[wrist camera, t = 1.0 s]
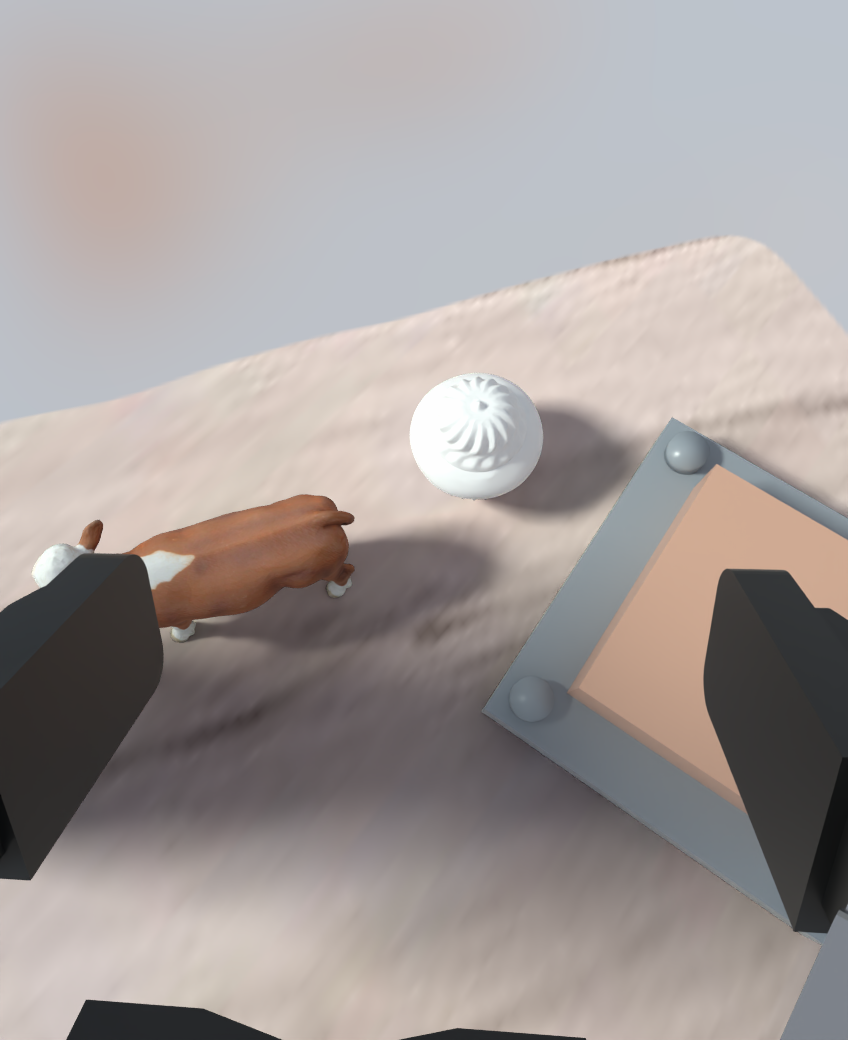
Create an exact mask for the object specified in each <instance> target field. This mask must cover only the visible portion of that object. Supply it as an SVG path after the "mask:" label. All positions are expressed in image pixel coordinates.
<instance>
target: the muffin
mask: <svg viewBox="0 0 848 1040" xmlns="http://www.w3.org/2000/svg"><path fill="white" fill-rule="evenodd" d="M410 443H411V449H412V452H413V455H414V458H415V460H416V462H417V464H418V466H419V468H420V470H421V471H422V473H423V474H424V475H425V477H426V478H427V479H428V480H429V481H430V482H431V483H432V484H433V485H434V486H435V487H437V488H438V489H440V490H441V491H443V492H445V493H447V494H449V495H451V496H456V497H460V498H462V499H464V498H466V499H472V500H476V499H485V500H486V499H487V498H493V497H497V496H500V495H503V494H505V493H508V492H510V491H511V490H513V489H515V488H516V487H518V486H519V485H520V484H522V483H523V482H524V481H525V480H526V479H527V477H528V476H529V475H530V474H531V472H532V471H533V470H534V468H535V466H536V464H537V462H538V460H539V458H540V455H541V451H542V446H543V429H542V424H541V420H540V417H539V414H538V411H537V409H536V407H535V405H534V404H533V402H532V401H531V399H530V398H529V397H528V395H527V394H526V393H525V392H524V391H523V390H522V389H521V388H520V387H518V386H517V385H516V384H514V383H512V382H511V381H509V380H507V379H505V378H502V377H500V376H496V375H492V374H487V373H469V374H463V375H459V376H456V377H453V378H450V379H448V380H446V381H444V382H442V383H440V384H439V385H437V386H436V387H434V388H433V389H432V390H430V391H429V392H428V393H427V394H426V395H425V396H424V398H423V399H422V400H421V402H420V403H419V405H418V407H417V409H416V411H415V413H414V416H413V418H412V422H411V427H410Z"/></svg>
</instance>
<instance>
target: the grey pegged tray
mask: <svg viewBox="0 0 848 1040" xmlns="http://www.w3.org/2000/svg"><path fill="white" fill-rule="evenodd" d="M725 569H771V570H786V571H788V572H789V573H790V574H791V576H792V577H793V578H794V580H795V581H796V583H797V584H798V585H799V587H800V588H801V589H802V591H803V592H804V593H805V595H806V596H807V598H808V599H809V600H810V602H811V603H812V604H813V606H814V607H815V608H830V609H832V610H834V611H835V612H837V613H838V614H840V615H841V616H843V617H844V618H846V619H847V620H848V518H846V517H844V516H843V515H841V514H839V513H838V512H836V511H834V510H832V509H831V508H829V507H827V506H825V505H824V504H822V503H820V502H818V501H817V500H815V499H813V498H811V497H810V496H808V495H806V494H804V493H803V492H801V491H799V490H798V489H796V488H794V487H792V486H791V485H789V484H787V483H785V482H784V481H782V480H780V479H778V478H777V477H775V476H773V475H771V474H770V473H768V472H766V471H765V470H763V469H761V468H759V467H758V466H756V465H754V464H752V463H751V462H749V461H747V460H745V459H744V458H742V457H740V456H738V455H737V454H735V453H733V452H731V451H730V450H728V449H726V448H725V447H723V446H721V445H719V444H718V443H716V442H714V441H712V440H711V439H709V438H707V437H705V436H704V435H702V434H700V433H698V432H697V431H695V430H693V429H692V428H690V427H688V426H686V425H685V424H683V423H681V422H679V421H678V420H676V419H674V418H671V420H670V421H669V423H668V424H667V425H666V427H665V428H664V430H663V431H662V433H661V434H660V436H659V437H658V439H657V440H656V441H655V443H654V444H653V446H652V448H651V449H650V451H649V452H648V454H647V455H646V457H645V458H644V460H643V462H642V463H641V465H640V466H639V468H638V469H637V471H636V472H635V474H634V475H633V477H632V479H631V480H630V482H629V483H628V485H627V486H626V488H625V489H624V491H623V492H622V494H621V496H620V497H619V499H618V500H617V502H616V503H615V505H614V506H613V508H612V510H611V511H610V513H609V514H608V516H607V517H606V519H605V520H604V522H603V523H602V525H601V527H600V528H599V530H598V531H597V533H596V534H595V536H594V537H593V539H592V541H591V542H590V544H589V545H588V547H587V548H586V550H585V551H584V553H583V554H582V556H581V558H580V559H579V561H578V562H577V564H576V565H575V567H574V568H573V570H572V572H571V573H570V575H569V576H568V578H567V579H566V581H565V582H564V584H563V585H562V587H561V589H560V590H559V592H558V593H557V595H556V596H555V598H554V599H553V601H552V603H551V604H550V606H549V607H548V609H547V610H546V612H545V613H544V615H543V616H542V618H541V620H540V621H539V623H538V624H537V626H536V627H535V629H534V630H533V632H532V633H531V635H530V637H529V638H528V640H527V641H526V643H525V644H524V646H523V647H522V649H521V651H520V652H519V654H518V655H517V657H516V658H515V660H514V661H513V663H512V664H511V666H510V668H509V669H508V671H507V672H506V674H505V675H504V677H503V678H502V680H501V682H500V683H499V685H498V686H497V688H496V689H495V691H494V692H493V694H492V695H491V697H490V699H489V700H488V702H487V703H486V705H485V706H484V708H483V709H482V711H481V712H483V713H484V714H485V715H487V716H488V717H490V718H491V719H493V720H494V721H496V722H497V723H498V724H500V725H501V726H503V727H504V728H506V729H507V730H508V731H510V732H511V733H513V734H514V735H516V736H517V737H518V738H520V739H521V740H523V741H524V742H526V743H527V744H529V745H530V746H531V747H533V748H534V749H536V750H537V751H539V752H540V753H541V754H543V755H544V756H546V757H547V758H549V759H550V760H552V761H553V762H554V763H556V764H557V765H559V766H560V767H562V768H563V769H564V770H566V771H567V772H569V773H570V774H572V775H573V776H575V777H576V778H577V779H579V780H580V781H582V782H583V783H585V784H586V785H587V786H589V787H590V788H592V789H593V790H595V791H596V792H598V793H599V794H600V795H602V796H603V797H605V798H606V799H608V800H609V801H610V802H612V803H613V804H615V805H616V806H618V807H619V808H620V809H622V810H623V811H625V812H626V813H628V814H629V815H631V816H632V817H633V818H635V819H636V820H638V821H639V822H641V823H642V824H643V825H645V826H646V827H648V828H649V829H651V830H652V831H654V832H655V833H656V834H658V835H659V836H661V837H662V838H664V839H665V840H666V841H668V842H669V843H671V844H672V845H674V846H675V847H677V848H678V849H679V850H681V851H682V852H684V853H685V854H687V855H688V856H689V857H691V858H692V859H694V860H695V861H697V862H698V863H700V864H701V865H702V866H704V867H705V868H707V869H708V870H710V871H711V872H712V873H714V874H715V875H717V876H718V877H720V878H721V879H722V880H724V881H725V882H727V883H728V884H730V885H731V886H733V887H734V888H735V889H737V890H738V891H740V892H741V893H743V894H744V895H745V896H747V897H748V898H750V899H751V900H753V901H754V902H756V903H757V904H758V905H760V906H761V907H763V908H764V909H766V910H767V911H768V912H770V913H771V914H773V915H774V916H776V917H777V918H779V919H780V920H781V921H783V922H784V923H786V924H787V925H789V926H790V927H791V928H792V926H791V923H790V920H789V918H788V915H787V913H786V910H785V908H784V905H783V903H782V900H781V898H780V895H779V892H778V890H777V887H776V885H775V882H774V880H773V877H772V875H771V872H770V869H769V867H768V864H767V862H766V859H765V857H764V854H763V852H762V849H761V847H760V844H759V841H758V839H757V836H756V834H755V831H754V829H753V826H752V824H751V821H750V819H749V816H748V813H747V811H746V808H745V806H744V803H743V801H742V798H741V796H740V793H739V791H738V788H737V785H736V783H735V780H734V778H733V775H732V773H731V770H730V768H729V765H728V763H727V760H726V757H725V755H724V752H723V750H722V747H721V745H720V742H719V740H718V737H717V734H716V732H715V729H714V727H713V724H712V722H711V719H710V717H709V714H708V711H707V707H706V703H705V696H704V685H703V674H704V664H705V657H706V651H707V645H708V639H709V633H710V627H711V621H712V615H713V609H714V603H715V597H716V591H717V586H718V581H719V578H720V576H721V574H722V572H723V571H724V570H725ZM799 933H800V934H801V935H803V936H805V937H807V938H809V939H811V940H812V941H814V942H816V943H818V944H820V945H823V943H824V940H825V938H826V936H827V933H811V932H799Z"/></svg>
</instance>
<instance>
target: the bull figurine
mask: <svg viewBox="0 0 848 1040" xmlns="http://www.w3.org/2000/svg"><path fill="white" fill-rule="evenodd" d="M353 521H354V516H353V515H352V514H350V513H347V512H343V511H338V510H337V507H336V505H335V504H334V502H333V501H332V500H331V499H329V498H327V497H325V496H314V495H298V496H294V497H291V498H289V499H286V500H282V501H279V502H276V503H273V504H271V505H267V506H261V507H256V508H251V509H247V510H243V511H238V512H232V513H229V514H225V515H222V516H219V517H216V518H213V519H210V520H207V521H203V522H200V523H197V524H195V525H192V526H188V527H185V528H182V529H178V530H174V531H170V532H166V533H162V534H159V535H156V536H154V537H152V538H150V539H149V540H147V541H145V542H143V543H141V544H140V545H138V546H137V547H135V548H134V549H133V550H131V551H130V552H126V553H122V554H135V555H138V556H140V557H141V558H142V560H143V561H144V563H145V565H146V568H147V571H148V576H149V581H150V586H151V591H152V595H153V600H154V605H155V610H156V615H157V620H158V625H159V628H163V627H170V626H171V627H172V629H171V632H170V635H171V638H172V640H173V641H175V642H179V643H181V642H184V641H186V640H188V638H189V636H190V635H193V634H194V633H195V630H194V628H195V626H196V623H195V622H194V621H192V620H195V619H204V618H210V617H216V616H225V615H234V614H240V613H244V612H248V611H250V610H253V609H255V608H257V607H259V606H260V605H262V604H264V603H265V602H266V601H268V600H269V599H270V598H271V597H272V596H273V595H275V594H276V593H277V592H278V591H279V590H280V589H282V588H283V587H290V588H303V587H307V586H309V585H312V584H314V583H315V582H317V581H319V580H326V581H330V582H329V583H328V584H327V586H326V590H327V592H328V595H329V596H330V597H332V598H338V597H340V596H342V595H343V594H344V593H345V590H346V588H349V587H351V586H352V581H351V579H350V576H351V574H352V573H353V572H354V566H353V565H351V564H345V563H343V562H344V561H345V559H346V557H347V554H348V549H349V543H348V539H347V536H346V534H345V532H344V530H343V528H342V527H341V525H349V524H351V523H352V522H353ZM102 530H103V523H102V522H101V521H100V520H95V521H93V522H92V523H90V524H89V525H88V526H87V527H86V528H85V529H84V530H83V533H82V537H81V539H80V542H79V543H78V545H77V546H74V547H72V546H70V545H68V544H57V545H54V546H52V547H50V548H49V549H47V550H46V551H45V552H44V553H43V555H41V556H40V557H39V558H38V560H37V562H36V564H35V566H34V568H33V570H32V576H33V578H34V579H35V581H36V583H37V584H38V586H39V587H40V588H42V587H44V586H46V585H47V584H48V583H50V582H51V581H52V580H53V579H54V578H55V577H56V576H57V575H58V574H59V573H60V572H62V571H63V570H64V569H65V568H66V567H67V566H68V565H69V564H70V563H71V562H72V561H73V560H75V559H76V558H77V557H78V556H79V555H81V554H84V553H94V551H95V549H96V547H97V545H98V543H99V541H100V538H101V533H102Z"/></svg>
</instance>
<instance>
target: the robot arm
mask: <svg viewBox="0 0 848 1040" xmlns="http://www.w3.org/2000/svg"><path fill="white" fill-rule="evenodd" d="M162 668H163V645H162V640H161V635H160V630H159V625H158V620H157V615H156V610H155V605H154V600H153V595H152V591H151V586H150V581H149V576H148V571H147V568H146V565H145V563H144V561H143V560H142V558H141V557H140V556H138V555H135V554H99V553H84V554H81V555H79V556H78V557H77V558H76V559H75V560H73V561H72V562H71V563H70V564H69V565H68V566H67V567H66V568H65V569H64V570H63V571H62V572H60V573H59V574H58V575H57V576H56V577H55V578H54V579H53V580H52V581H51V582H50V583H48V584H47V585H46V586H44V587H42V588H40V589H38V590H36V591H34V592H32V593H30V594H29V595H27V596H25V597H23V598H21V599H19V600H17V601H15V602H14V603H12V604H10V605H8V606H7V607H6V608H5V609H4V610H3V611H1V612H0V878H1V879H17V880H31V879H32V878H33V876H34V874H35V873H36V871H37V870H38V868H39V867H40V865H41V864H42V862H43V861H44V859H45V858H46V856H47V855H48V853H49V852H50V850H51V849H52V847H53V846H54V844H55V842H56V841H57V839H58V838H59V836H60V835H61V833H62V832H63V830H64V829H65V827H66V826H67V824H68V823H69V821H70V820H71V818H72V817H73V815H74V814H75V812H76V810H77V809H78V807H79V806H80V804H81V803H82V801H83V800H84V798H85V797H86V795H87V794H88V792H89V791H90V789H91V788H92V786H93V785H94V783H95V782H96V780H97V778H98V777H99V775H100V774H101V772H102V771H103V769H104V768H105V766H106V765H107V763H108V762H109V760H110V759H111V757H112V756H113V754H114V753H115V751H116V749H117V748H118V746H119V745H120V743H121V742H122V740H123V739H124V737H125V736H126V734H127V733H128V731H129V730H130V728H131V727H132V725H133V724H134V722H135V721H136V719H137V717H138V716H139V714H140V713H141V711H142V710H143V708H144V707H145V705H146V704H147V702H148V701H149V699H150V698H151V696H152V695H153V693H154V692H155V690H156V688H157V686H158V683H159V681H160V677H161V673H162ZM703 685H704V696H705V703H706V707H707V711H708V714H709V717H710V719H711V722H712V724H713V727H714V729H715V732H716V734H717V737H718V740H719V742H720V745H721V747H722V750H723V752H724V755H725V757H726V760H727V763H728V765H729V768H730V770H731V773H732V775H733V778H734V780H735V783H736V785H737V788H738V791H739V793H740V796H741V798H742V801H743V803H744V806H745V808H746V811H747V813H748V816H749V819H750V821H751V824H752V826H753V829H754V831H755V834H756V836H757V839H758V841H759V844H760V847H761V849H762V852H763V854H764V857H765V859H766V862H767V864H768V867H769V869H770V872H771V875H772V877H773V880H774V882H775V885H776V887H777V890H778V892H779V895H780V898H781V900H782V903H783V905H784V908H785V910H786V913H787V915H788V918H789V920H790V923H791V926H792V928H793V931H795V932H811V933H827V936H826V938H825V940H824V943H823V945H822V947H821V949H820V952H819V954H818V956H817V958H816V960H815V963H814V965H813V967H812V969H811V972H810V974H809V976H808V978H807V981H806V983H805V985H804V987H803V990H802V992H801V994H800V996H799V998H798V1001H797V1003H796V1005H795V1007H794V1010H793V1012H792V1014H791V1016H790V1019H789V1021H788V1023H787V1025H786V1028H785V1030H784V1032H783V1034H782V1036H781V1039H780V1040H848V620H847V619H846V618H844V617H843V616H841V615H840V614H838V613H837V612H835V611H834V610H832V609H830V608H815V607H814V606H813V604H812V603H811V602H810V600H809V599H808V598H807V596H806V595H805V593H804V592H803V591H802V589H801V588H800V587H799V585H798V584H797V583H796V581H795V580H794V578H793V577H792V576H791V574H790V573H789V572H788V571H786V570H771V569H725V570H724V571H723V572H722V574H721V576H720V578H719V581H718V586H717V591H716V597H715V603H714V609H713V615H712V621H711V627H710V633H709V639H708V645H707V651H706V657H705V664H704V674H703ZM66 1040H281V1039H279V1038H276V1037H274V1036H271V1035H269V1034H266V1033H263V1032H261V1031H258V1030H256V1029H253V1028H251V1027H248V1026H246V1025H243V1024H241V1023H238V1022H236V1021H233V1020H231V1019H228V1018H226V1017H223V1016H221V1015H218V1014H215V1013H213V1012H210V1011H208V1010H205V1009H201V1008H188V1007H175V1006H162V1005H149V1004H136V1003H123V1002H110V1001H97V1000H86V1001H85V1003H84V1005H83V1007H82V1009H81V1011H80V1013H79V1015H78V1017H77V1019H76V1021H75V1023H74V1025H73V1027H72V1029H71V1031H70V1033H69V1035H68V1037H67V1039H66ZM401 1040H586V1038H578V1037H565V1036H552V1035H539V1034H526V1033H513V1032H500V1031H487V1030H474V1029H461V1028H456V1029H451V1030H446V1031H441V1032H436V1033H431V1034H426V1035H421V1036H416V1037H411V1038H406V1039H401Z"/></svg>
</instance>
